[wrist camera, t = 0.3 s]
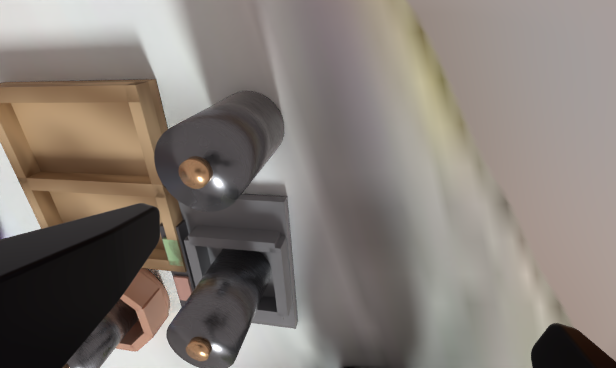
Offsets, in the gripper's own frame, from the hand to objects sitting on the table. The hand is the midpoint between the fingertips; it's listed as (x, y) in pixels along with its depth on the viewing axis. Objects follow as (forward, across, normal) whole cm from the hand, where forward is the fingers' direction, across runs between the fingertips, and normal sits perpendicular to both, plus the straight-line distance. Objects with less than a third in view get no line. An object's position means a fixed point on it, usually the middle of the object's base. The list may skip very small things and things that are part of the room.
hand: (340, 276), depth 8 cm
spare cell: (+14, +7, +2) cm, 16 cm away
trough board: (+14, +18, +9) cm, 24 cm away
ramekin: (+14, +17, +21) cm, 30 cm away
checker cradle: (+14, +7, +14) cm, 21 cm away
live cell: (+13, +6, +13) cm, 20 cm away
